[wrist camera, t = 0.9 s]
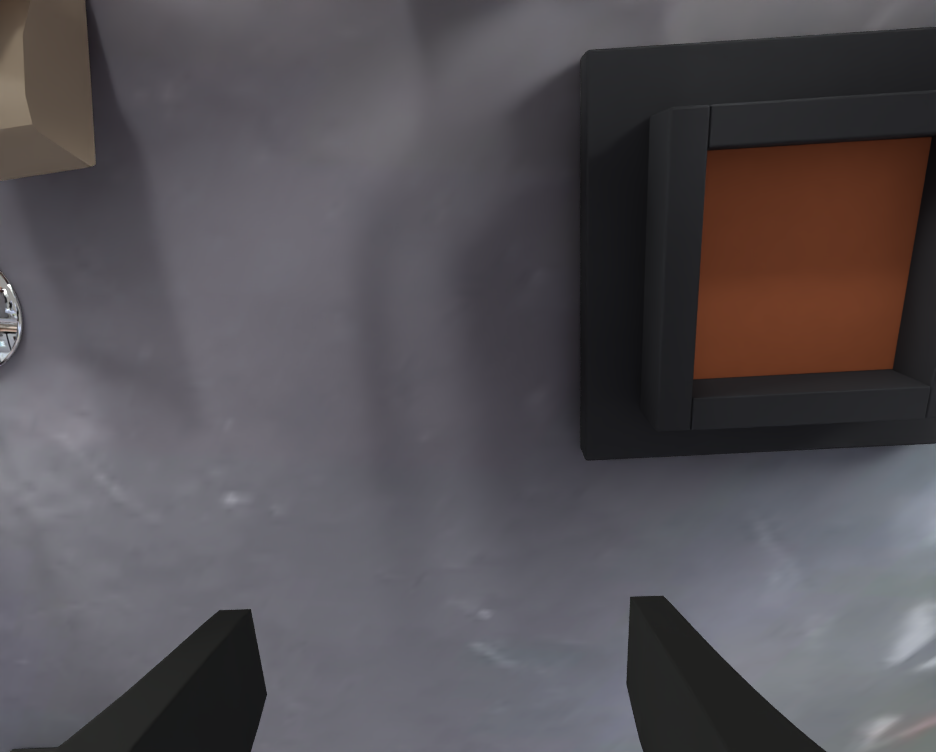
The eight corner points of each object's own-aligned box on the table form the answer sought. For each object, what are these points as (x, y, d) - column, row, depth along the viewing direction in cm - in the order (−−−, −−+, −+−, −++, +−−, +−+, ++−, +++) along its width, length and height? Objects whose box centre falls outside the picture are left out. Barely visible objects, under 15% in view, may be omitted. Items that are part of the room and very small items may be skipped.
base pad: (937, 430, 20) (1009, 468, 17) (579, 448, 20) (596, 488, 18) (1018, 28, 16) (1125, -3, 14) (579, 57, 17) (600, 32, 14)
